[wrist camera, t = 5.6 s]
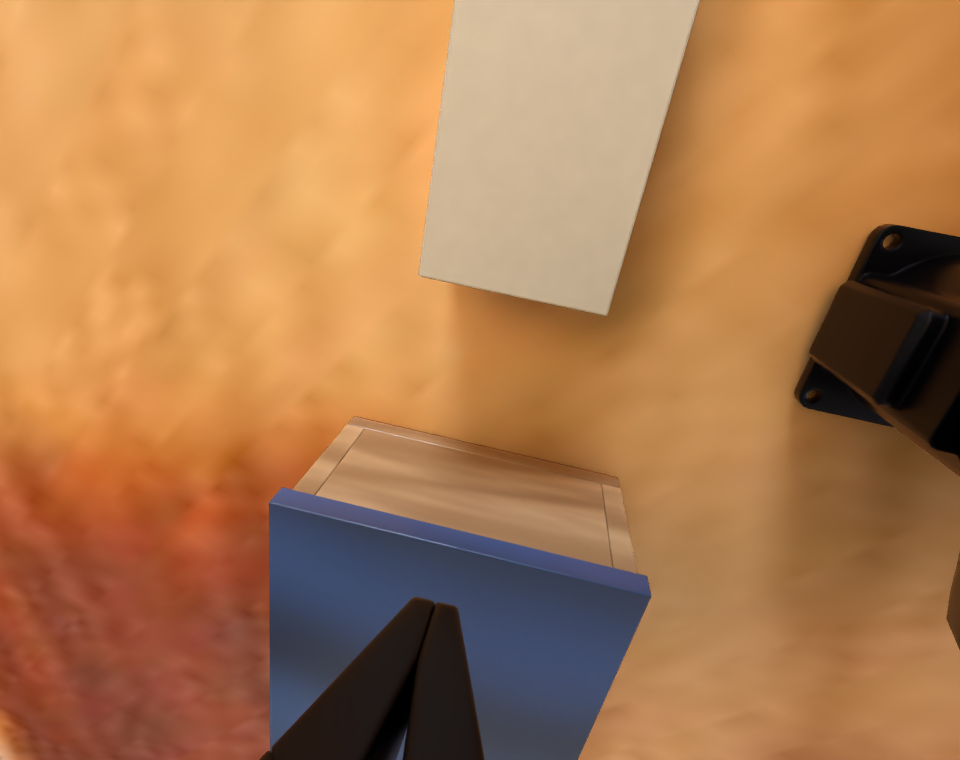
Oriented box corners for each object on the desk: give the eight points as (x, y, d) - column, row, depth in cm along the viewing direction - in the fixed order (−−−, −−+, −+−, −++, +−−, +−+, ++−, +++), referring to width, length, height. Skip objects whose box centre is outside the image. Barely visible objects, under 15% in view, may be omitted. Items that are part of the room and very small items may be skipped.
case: (511, -140, 14) (490, -280, 10) (703, -109, 14) (770, -240, 9) (450, 251, 19) (417, 276, 14) (595, 282, 18) (607, 317, 14)
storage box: (353, 415, 22) (287, 493, 16) (618, 476, 21) (639, 579, 16) (334, 634, 27) (279, 746, 22) (544, 689, 26) (541, 818, 21)
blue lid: (281, 486, 16) (268, 502, 15) (647, 575, 15) (652, 596, 14) (279, 747, 22) (269, 767, 21) (541, 819, 21) (540, 842, 20)
